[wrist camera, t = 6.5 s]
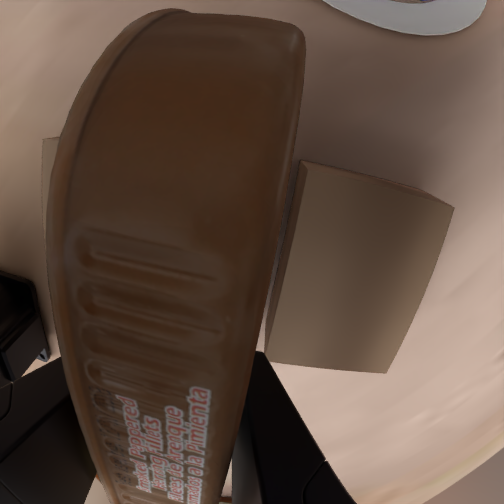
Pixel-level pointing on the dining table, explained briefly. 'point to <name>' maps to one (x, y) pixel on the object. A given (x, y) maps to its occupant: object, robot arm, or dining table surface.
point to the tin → (170, 242)
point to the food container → (225, 500)
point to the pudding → (414, 14)
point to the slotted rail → (343, 267)
